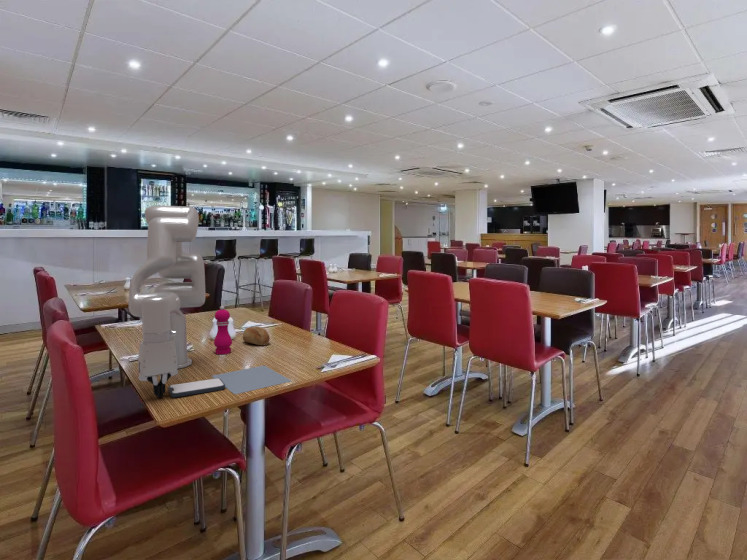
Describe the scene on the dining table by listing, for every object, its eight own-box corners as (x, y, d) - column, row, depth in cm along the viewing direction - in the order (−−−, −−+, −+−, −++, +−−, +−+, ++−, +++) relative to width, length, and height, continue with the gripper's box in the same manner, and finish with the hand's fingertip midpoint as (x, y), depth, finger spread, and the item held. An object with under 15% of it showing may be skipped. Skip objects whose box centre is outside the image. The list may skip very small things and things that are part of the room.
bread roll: (257, 348, 186) (257, 331, 185) (236, 343, 195) (236, 326, 194) (274, 344, 193) (274, 327, 193) (254, 339, 202) (253, 323, 201)
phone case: (219, 382, 144) (167, 390, 135) (219, 377, 143) (167, 385, 135) (226, 390, 136) (171, 399, 128) (226, 385, 136) (171, 394, 127)
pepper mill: (234, 353, 178) (233, 306, 176) (217, 355, 174) (215, 307, 172) (229, 349, 184) (227, 304, 182) (212, 352, 179) (210, 305, 177)
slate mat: (211, 376, 149) (211, 375, 149) (264, 365, 162) (264, 365, 162) (234, 394, 132) (234, 394, 132) (291, 381, 145) (291, 381, 145)
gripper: (180, 331, 134) (182, 387, 136) (126, 338, 125) (129, 398, 127) (187, 336, 128) (189, 394, 130) (131, 343, 119) (134, 406, 121)
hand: (159, 396), depth 129 cm, fingers closed
